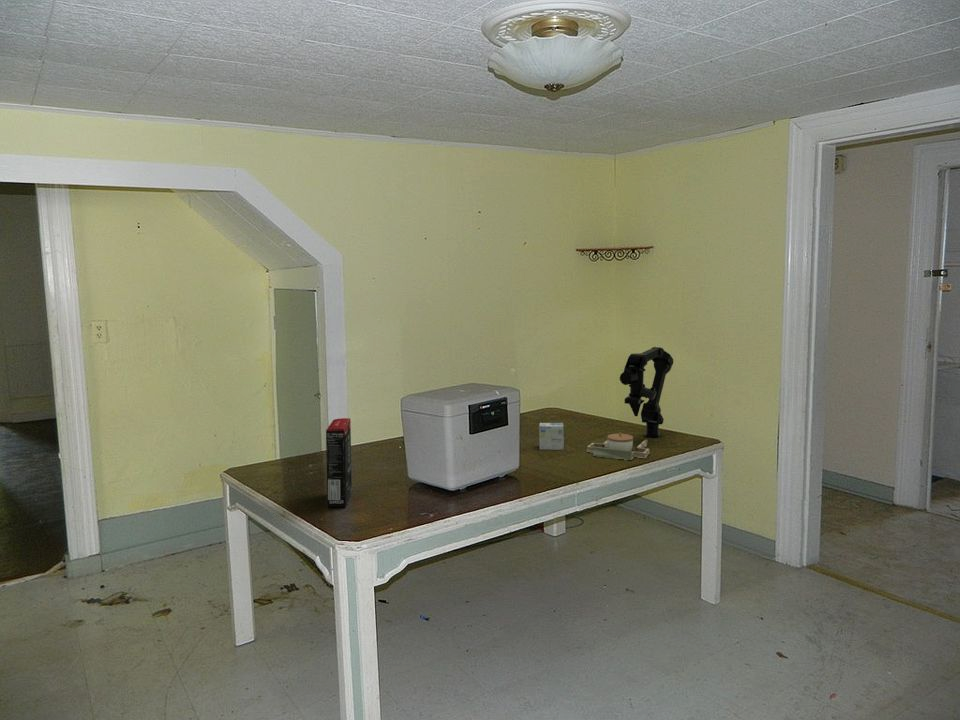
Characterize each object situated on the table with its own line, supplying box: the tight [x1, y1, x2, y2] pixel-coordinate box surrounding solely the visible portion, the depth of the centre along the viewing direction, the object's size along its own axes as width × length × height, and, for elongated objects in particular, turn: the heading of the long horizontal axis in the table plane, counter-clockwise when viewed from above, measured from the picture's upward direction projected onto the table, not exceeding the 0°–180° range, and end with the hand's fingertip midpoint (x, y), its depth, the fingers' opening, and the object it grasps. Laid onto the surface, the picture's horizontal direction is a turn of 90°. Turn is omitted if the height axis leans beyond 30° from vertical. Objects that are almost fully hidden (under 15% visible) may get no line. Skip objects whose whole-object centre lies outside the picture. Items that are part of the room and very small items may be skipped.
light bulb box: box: [538, 422, 565, 451], centre depth 311 cm, size 11×7×11 cm, turn 84°
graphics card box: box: [325, 417, 353, 508], centre depth 243 cm, size 17×7×27 cm, turn 4°
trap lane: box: [586, 439, 651, 461], centre depth 306 cm, size 28×25×4 cm
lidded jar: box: [606, 432, 634, 451], centre depth 300 cm, size 11×11×9 cm
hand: (636, 416), depth 319 cm, fingers closed
